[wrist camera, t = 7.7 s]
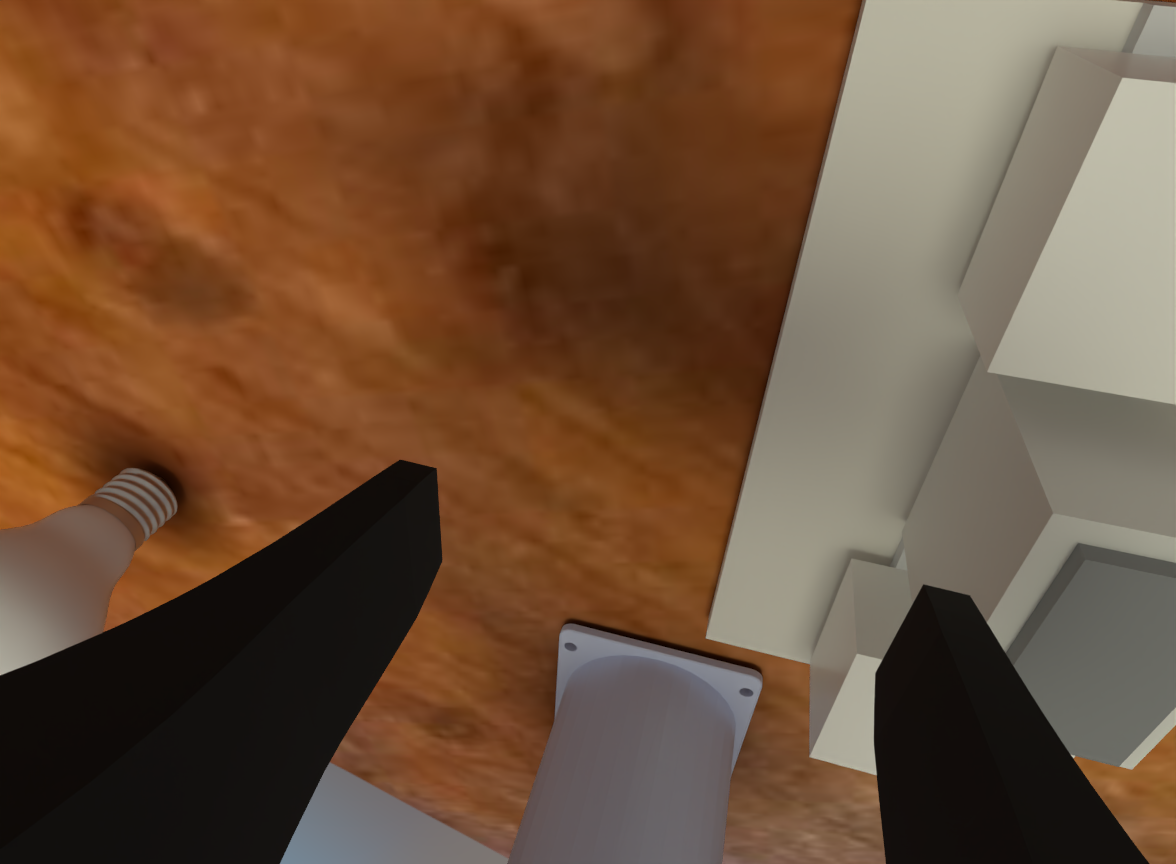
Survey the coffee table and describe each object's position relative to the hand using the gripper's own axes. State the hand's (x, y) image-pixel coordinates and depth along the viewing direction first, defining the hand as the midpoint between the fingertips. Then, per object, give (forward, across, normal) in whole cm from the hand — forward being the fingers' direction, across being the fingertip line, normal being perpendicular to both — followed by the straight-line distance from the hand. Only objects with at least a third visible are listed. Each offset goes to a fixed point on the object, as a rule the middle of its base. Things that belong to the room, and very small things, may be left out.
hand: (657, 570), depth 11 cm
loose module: (+9, -8, +2) cm, 12 cm away
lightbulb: (+11, +22, +13) cm, 27 cm away
